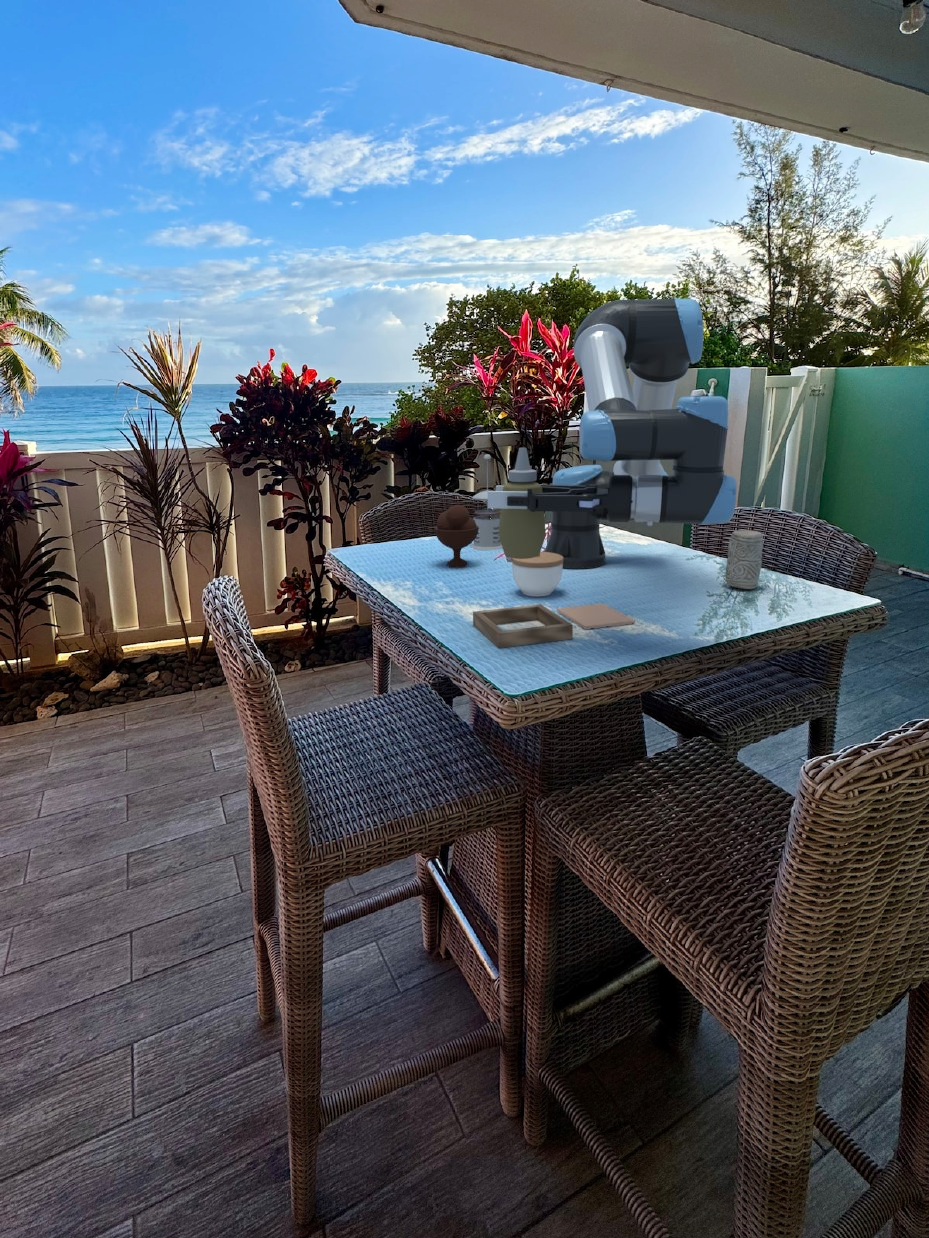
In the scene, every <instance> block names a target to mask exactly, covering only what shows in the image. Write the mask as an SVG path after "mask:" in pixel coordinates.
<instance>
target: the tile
mask: <svg viewBox="0 0 929 1238" xmlns="http://www.w3.org/2000/svg"><path fill="white" fill-rule="evenodd" d="M556 612H557V613H558V614H559V615H561V616H563V617H564V616H565V617H564V618H566V619H567V620H569V619H570V620H569V621H571V622H572V621H573V622H572V623H574V624H575V623H576V624H575V625H577V624H578V625H577V626H579V627H580V626H581V627H580V628H581V629H583V628H584V629H583V630H585V629H587V630H592V629H591V628H595V629H600V628H599V627H604V628H607V627H606V626H612V627H619V626H626V625H625V624H628V625H633V624H632V623H635V624H636V620H635V619H633V618H631V617H629V616H628V615H626V614H625V613H621V612H620V611H618V610H616V609H615V608H612V607H611V606H609V605H607V604H605V603H603V602H602V603H595V604H585V605H576V606H568V607H567V606H566V607H557V608H556Z"/></svg>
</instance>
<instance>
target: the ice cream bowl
mask: <svg viewBox="0 0 929 1238" xmlns="http://www.w3.org/2000/svg"><path fill="white" fill-rule="evenodd" d="M478 529H479V527H478V525H476V523H475V520H473V517H471V516H470V512H469V510H468V508H467V507H466V506H465V505H461V504H454V505H452V506H450V507H449V508H448V509H447V510H446V511H443V512H442V513H441V514H440V515H439V516H438V518H437V520H436V526H434V532H435V536H436V538H437V540H438V542H440V543H441V544H442V545H443V546H445V547H447V548H448V549H452V551H453V558H451V559H450V560H449V561H447V562H446V567H448V566H449V567H448V568H457V569H458V568H465V567H468V566H469V564H468V561H466V560H465V559H463V558H462V557H461V551H462V549H464V548H466V547H468V546H469V545H472V544H473V543H474V540H475V538H476V536H477V534H478ZM467 565H468V566H467Z"/></svg>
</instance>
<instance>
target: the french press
mask: <svg viewBox="0 0 929 1238" xmlns="http://www.w3.org/2000/svg"><path fill="white" fill-rule="evenodd" d="M483 459H484V460H486V489H485V490H483V491H481V492H478V493H476V494H475V495H473V496H472V499H473V500H475V501H485V503H486V505H487V506H486V507H487V508H486V509H481V510H480V509H478V510H475V511H474V514H475V515H476V516H473V517H472V519H473V520H475V523H476V525H478V527H479V529H478V534H477V536H476V538H475V540H474V541H473V543H471V544H470V546H471V547H470V549H472V548H473V549H472V550H475V551H476V550H477V551H496V550H497V551H499V550H503V548H502V544H501V541H500V538H499V535H498V534H499V524H500V513H501V510H498V509H497V510H496V509H495V508H492V509H489V508H488V491H490V489H489V477H488V476H489V474H488V473H489V472H488V471H489V469H488V468H489V462H488V461H489V460H491V459H492V457H491V455H490V454H488V453H487V454H485V455H484V456H483ZM489 516H490V519H489Z"/></svg>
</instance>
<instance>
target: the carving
mask: <svg viewBox="0 0 929 1238" xmlns="http://www.w3.org/2000/svg"><path fill="white" fill-rule="evenodd" d="M763 543H764V535H763V533H762V532H759V531H756V530H745V529H744V530H743V529H741V530H735V531H732V534H731V535H730V537H729V543H728V546H727V549H728V550H727V557H728V558H726V567H725V575H724V577H725V578H724V579H725V583H726V585H727V586H729V587H733V588H738V589H743V590H755V589H756V588H757V587H758V586H757V585H758V584H759V579H760V576H761V575H760V574H761V569H762V564H763V560H762V559H763V546H764V544H763Z"/></svg>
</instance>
